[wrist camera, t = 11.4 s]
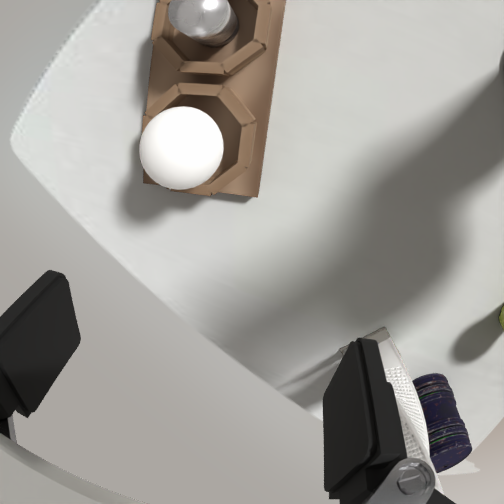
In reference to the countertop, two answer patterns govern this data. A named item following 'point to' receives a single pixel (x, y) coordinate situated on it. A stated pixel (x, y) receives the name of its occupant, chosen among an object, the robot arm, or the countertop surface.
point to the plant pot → (502, 318)
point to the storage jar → (442, 422)
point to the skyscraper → (404, 400)
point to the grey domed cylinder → (205, 20)
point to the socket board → (221, 88)
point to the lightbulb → (181, 148)
